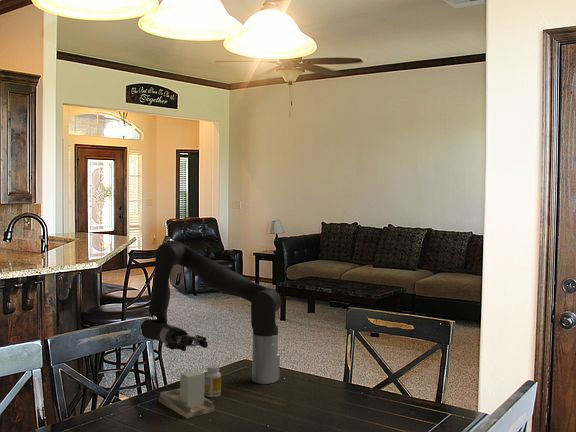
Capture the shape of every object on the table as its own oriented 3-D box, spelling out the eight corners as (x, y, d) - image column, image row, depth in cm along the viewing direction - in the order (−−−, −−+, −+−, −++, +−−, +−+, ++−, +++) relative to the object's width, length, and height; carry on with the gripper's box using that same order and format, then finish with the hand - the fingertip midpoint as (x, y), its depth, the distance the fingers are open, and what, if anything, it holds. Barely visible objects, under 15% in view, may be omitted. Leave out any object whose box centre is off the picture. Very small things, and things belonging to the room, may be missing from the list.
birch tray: (186, 396, 207) (186, 387, 207) (214, 411, 193) (214, 401, 193) (158, 401, 201) (159, 392, 201) (186, 418, 187) (186, 408, 187)
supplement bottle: (222, 392, 211) (222, 364, 211) (218, 397, 206) (219, 369, 206) (206, 391, 212) (207, 363, 212) (203, 397, 207) (203, 368, 206)
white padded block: (195, 400, 198) (196, 369, 198) (204, 405, 194) (204, 373, 194) (179, 404, 194) (179, 372, 194) (187, 409, 190) (187, 377, 190)
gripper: (156, 329, 225) (178, 338, 213) (190, 325, 234) (213, 333, 222) (156, 349, 226) (177, 359, 213) (190, 344, 234) (212, 354, 222)
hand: (196, 346), depth 217 cm, fingers open, 8 cm apart
